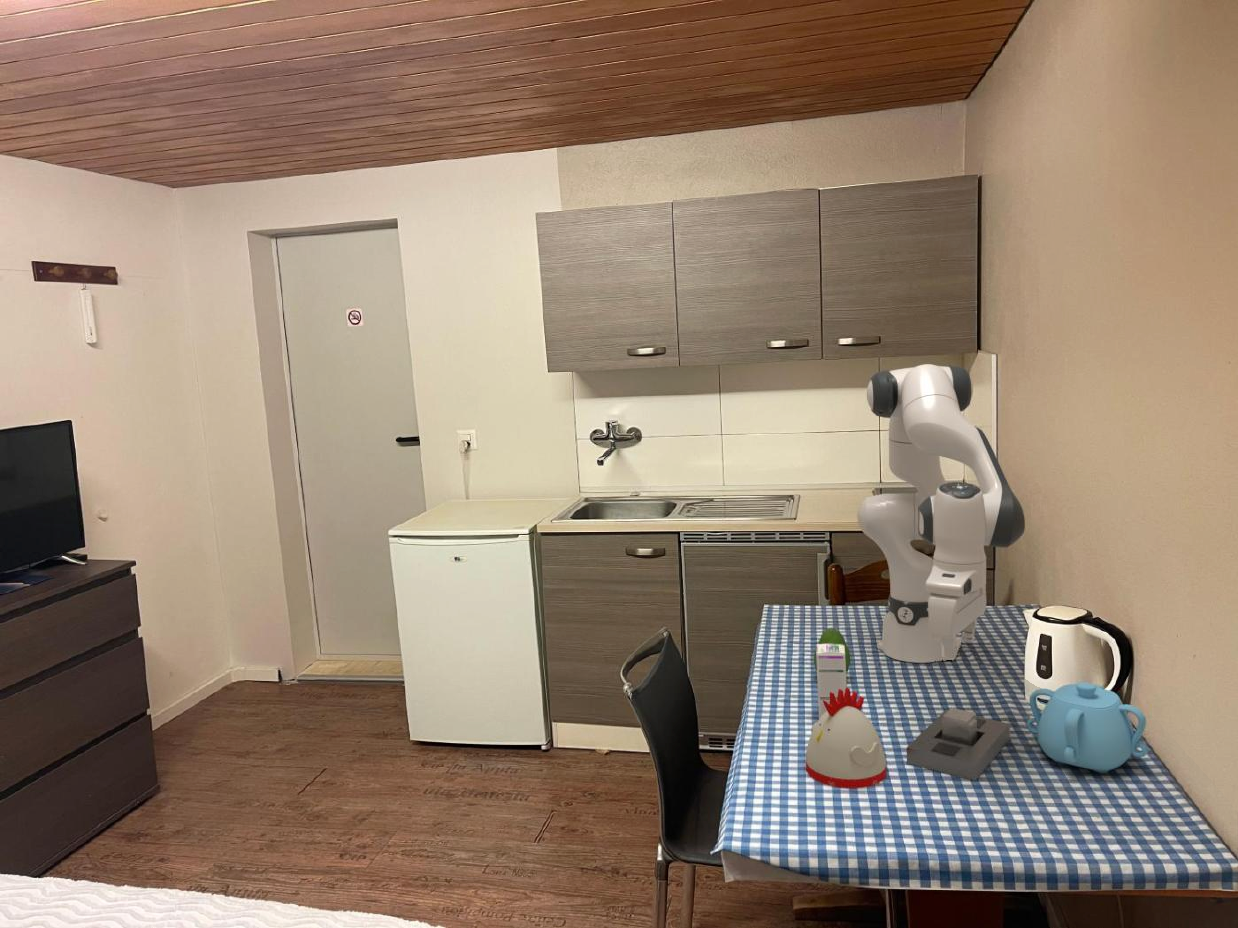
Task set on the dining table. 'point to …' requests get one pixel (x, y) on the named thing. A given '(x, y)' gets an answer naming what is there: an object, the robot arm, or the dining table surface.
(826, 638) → the avocado
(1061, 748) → the decorative pot
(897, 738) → the dining table surface
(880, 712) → the dining table surface
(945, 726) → the stepped metal block
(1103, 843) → the dining table surface
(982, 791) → the dining table surface
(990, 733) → the grey flat block
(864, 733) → the kitchen timer
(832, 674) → the syrup box
